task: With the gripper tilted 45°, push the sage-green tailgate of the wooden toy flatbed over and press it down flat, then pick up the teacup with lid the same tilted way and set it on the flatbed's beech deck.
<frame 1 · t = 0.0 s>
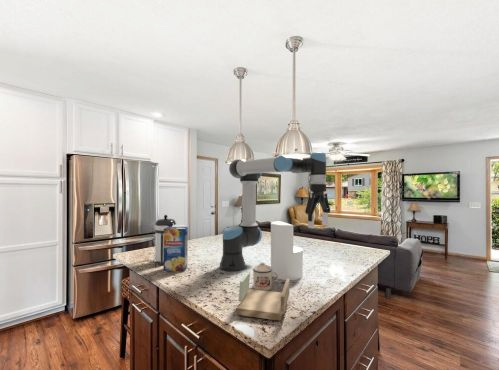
hand: (318, 226, 124), 28 cm above the worktop, tool pointing down, fingers open, 13 cm apart
coffee press: (163, 262, 159), on the worktop
cylinder: (286, 274, 136), on the worktop
tailgate: (243, 286, 100), point 8 cm above the worktop, hinge at -4.0°
juice carton: (175, 269, 144), on the worktop
teacup with lid: (265, 287, 118), on the worktop
flatbed: (263, 307, 98), on the worktop
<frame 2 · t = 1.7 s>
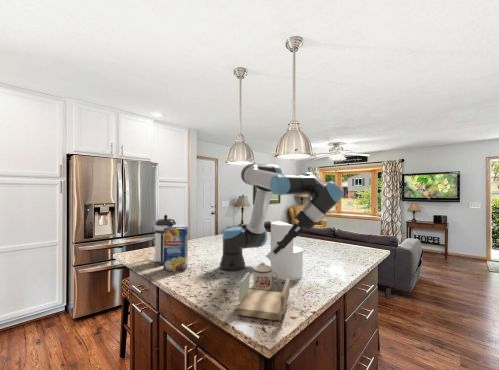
hand: (271, 254, 99), 21 cm above the worktop, tool tilted 45°, fingers open, 13 cm apart
nothing on the worktop moved.
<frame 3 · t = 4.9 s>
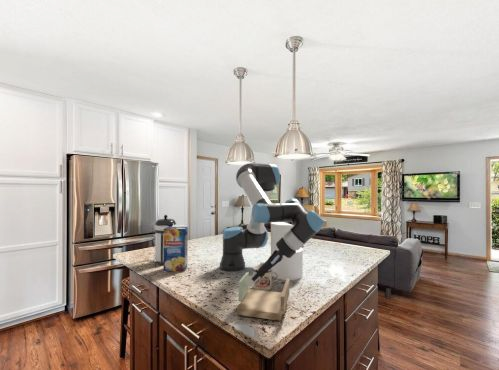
hand: (247, 284, 99), 9 cm above the worktop, tool tilted 45°, fingers closed
tailgate: (243, 286, 100), point 8 cm above the worktop, hinge at -0.8°, touching gripper
everything else where it was.
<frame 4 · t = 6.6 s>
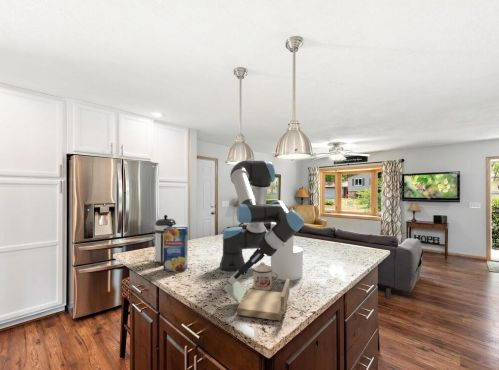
hand: (230, 282, 101), 9 cm above the worktop, tool tilted 45°, fingers closed
tailgate: (234, 289, 101), point 6 cm above the worktop, hinge at 50.4°, touching gripper
everything else where it was.
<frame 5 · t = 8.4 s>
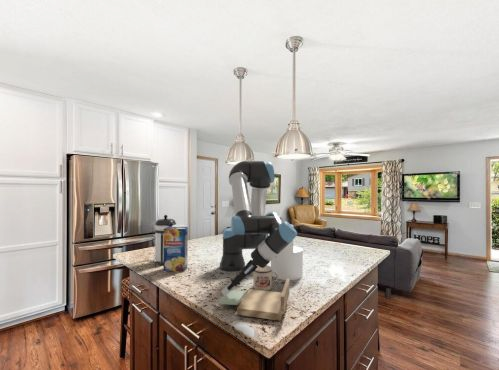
hand: (223, 293, 101), 4 cm above the worktop, tool tilted 45°, fingers closed
tailgate: (232, 297, 101), point 2 cm above the worktop, hinge at 94.1°, touching gripper
everything else where it was.
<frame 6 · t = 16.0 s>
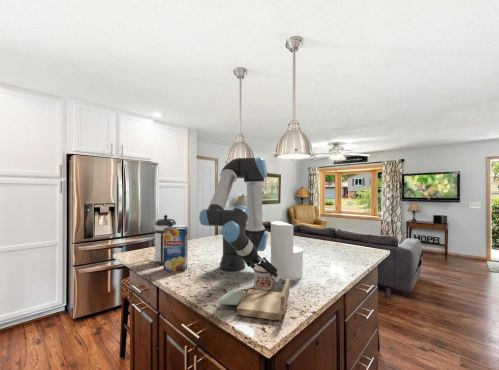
hand: (269, 276, 120), 4 cm above the worktop, tool tilted 45°, fingers closed on teacup with lid, 10 cm apart
tailgate: (232, 297, 101), point 2 cm above the worktop, hinge at 94.1°
teacup with lid: (266, 287, 118), on the worktop, touching gripper
everything else where it was.
when the fingers open (9 cm above the worktop, at t = 22.4 s): teacup with lid drops 1 cm, resting on flatbed.
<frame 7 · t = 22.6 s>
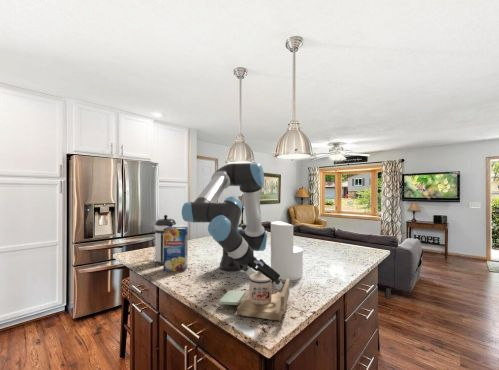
hand: (267, 282, 99), 9 cm above the worktop, tool tilted 45°, fingers open, 12 cm apart
teacup with lid: (264, 300, 98), point 3 cm above the worktop, touching flatbed
everything else where it was.
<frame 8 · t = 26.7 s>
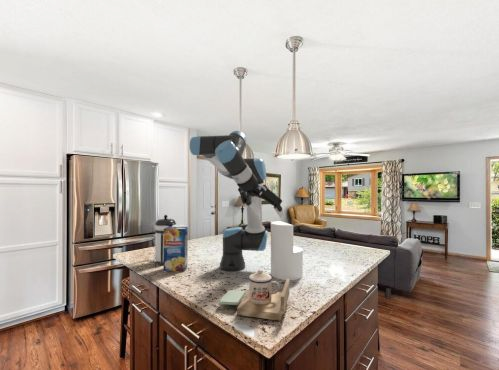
hand: (269, 214, 106), 36 cm above the worktop, tool tilted 45°, fingers open, 13 cm apart
nothing on the worktop moved.
at the end: tailgate at +94° (first picture: -4°); teacup with lid inside the target area on the flatbed (0.2 cm from its centre), point 2.8 cm above the flatbed's base; teacup with lid tilted 0° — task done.
